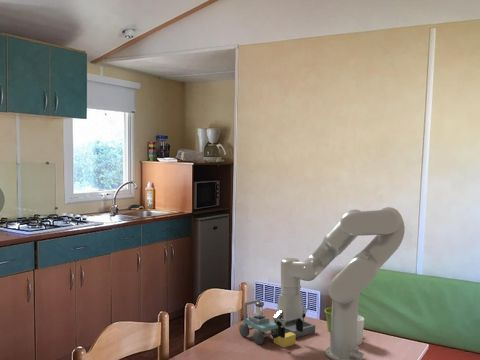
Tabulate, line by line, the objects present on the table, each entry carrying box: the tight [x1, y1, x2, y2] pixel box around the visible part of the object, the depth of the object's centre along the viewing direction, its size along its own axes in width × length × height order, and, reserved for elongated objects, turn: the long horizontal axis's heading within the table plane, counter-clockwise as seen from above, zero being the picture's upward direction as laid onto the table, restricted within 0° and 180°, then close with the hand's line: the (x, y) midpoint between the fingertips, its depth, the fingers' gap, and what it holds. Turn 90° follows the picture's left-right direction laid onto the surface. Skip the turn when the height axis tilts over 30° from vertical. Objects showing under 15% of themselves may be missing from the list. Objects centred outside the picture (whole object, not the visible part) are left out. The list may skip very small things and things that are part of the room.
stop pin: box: [254, 300, 265, 320], centre depth 183 cm, size 4×4×8 cm
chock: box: [273, 332, 297, 348], centre depth 178 cm, size 6×6×4 cm
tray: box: [272, 319, 316, 339], centre depth 191 cm, size 13×13×3 cm
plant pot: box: [324, 307, 332, 333], centre depth 192 cm, size 9×9×9 cm
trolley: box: [238, 299, 278, 346], centre depth 182 cm, size 14×10×14 cm
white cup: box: [356, 314, 365, 346], centre depth 181 cm, size 8×8×10 cm
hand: (290, 333), depth 176 cm, fingers open, 9 cm apart
